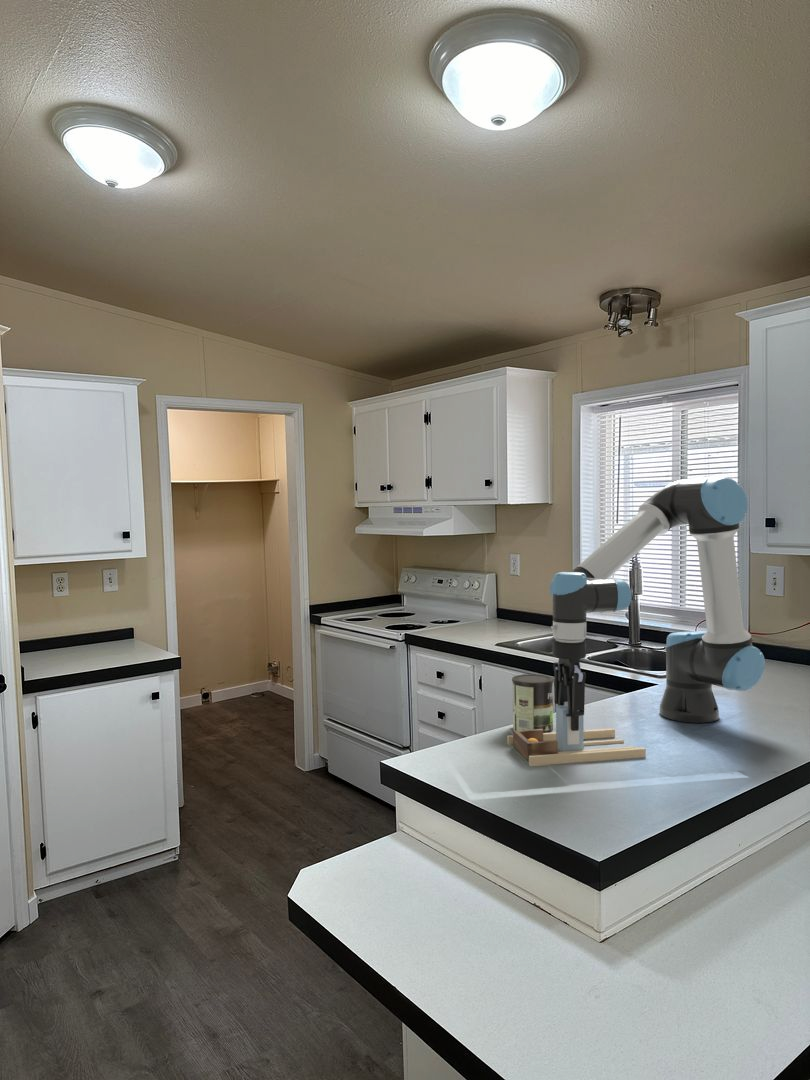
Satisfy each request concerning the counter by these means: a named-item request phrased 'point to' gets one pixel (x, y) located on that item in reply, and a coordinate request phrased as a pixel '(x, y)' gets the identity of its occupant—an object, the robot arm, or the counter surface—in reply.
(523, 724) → the coffee can
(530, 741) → the ball
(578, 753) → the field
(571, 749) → the block
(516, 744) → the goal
